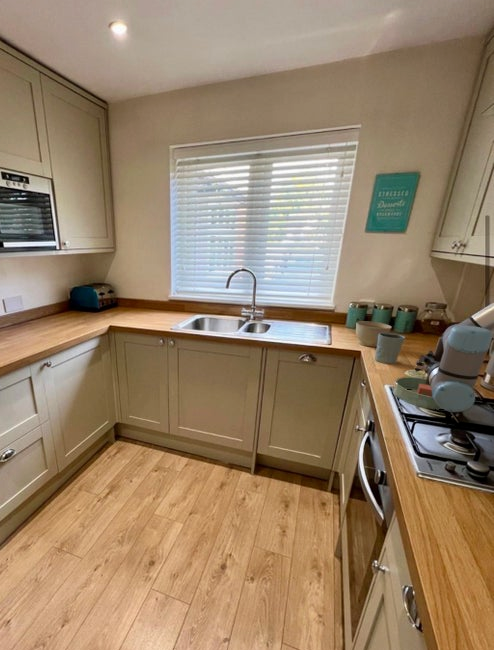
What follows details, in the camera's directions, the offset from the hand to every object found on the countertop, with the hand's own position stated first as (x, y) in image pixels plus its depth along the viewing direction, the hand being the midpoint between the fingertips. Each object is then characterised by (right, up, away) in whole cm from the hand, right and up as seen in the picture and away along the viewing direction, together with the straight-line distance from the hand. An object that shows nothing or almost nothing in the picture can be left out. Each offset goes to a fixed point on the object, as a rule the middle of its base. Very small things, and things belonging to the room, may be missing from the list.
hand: (436, 355), depth 107 cm
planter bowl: (+17, +8, +69) cm, 71 cm away
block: (-1, -15, +5) cm, 15 cm away
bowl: (0, -15, +6) cm, 16 cm away
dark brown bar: (-3, -9, -1) cm, 10 cm away
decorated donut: (+9, -10, +21) cm, 25 cm away
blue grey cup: (+10, -1, +44) cm, 45 cm away
